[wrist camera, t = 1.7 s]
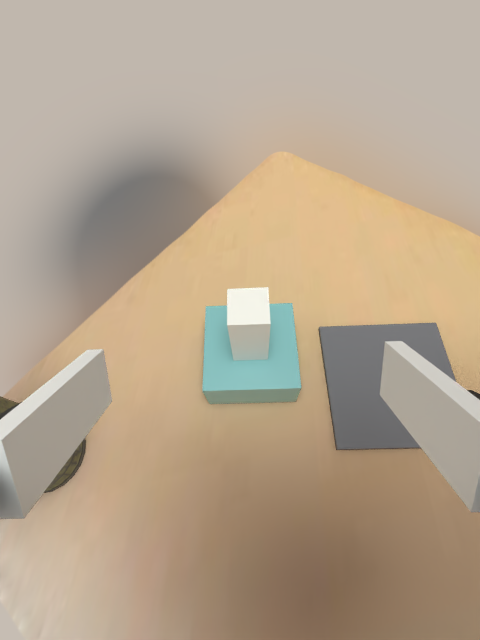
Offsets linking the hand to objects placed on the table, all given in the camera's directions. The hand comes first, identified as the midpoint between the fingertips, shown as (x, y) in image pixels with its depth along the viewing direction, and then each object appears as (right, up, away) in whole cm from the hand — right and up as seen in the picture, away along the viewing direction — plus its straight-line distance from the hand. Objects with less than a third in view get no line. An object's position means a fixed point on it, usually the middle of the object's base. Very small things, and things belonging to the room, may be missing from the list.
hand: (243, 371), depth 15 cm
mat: (+19, -6, +26) cm, 33 cm away
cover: (+1, -3, +29) cm, 29 cm away
